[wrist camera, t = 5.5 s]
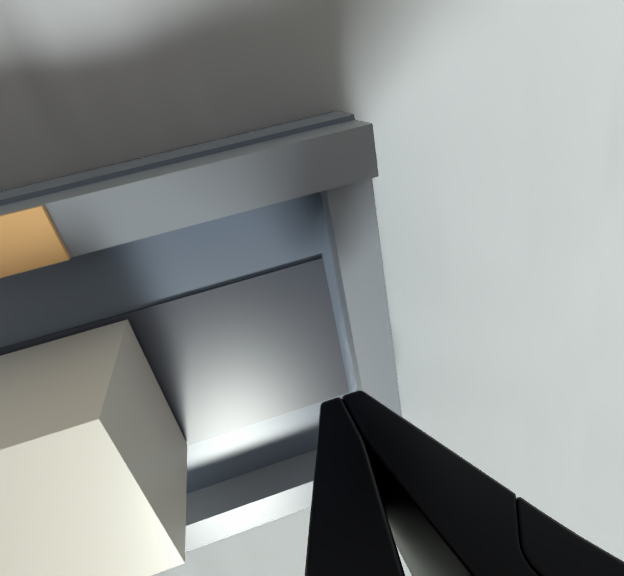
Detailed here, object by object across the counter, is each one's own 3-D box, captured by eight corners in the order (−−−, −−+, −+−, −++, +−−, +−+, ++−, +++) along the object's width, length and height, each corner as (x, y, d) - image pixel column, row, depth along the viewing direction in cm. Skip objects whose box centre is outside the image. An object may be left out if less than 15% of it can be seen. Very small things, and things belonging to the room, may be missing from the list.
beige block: (187, 444, 11) (185, 562, 8) (70, 483, 11) (28, 620, 8) (127, 319, 9) (98, 419, 7) (-17, 360, 9) (-112, 484, 6)
